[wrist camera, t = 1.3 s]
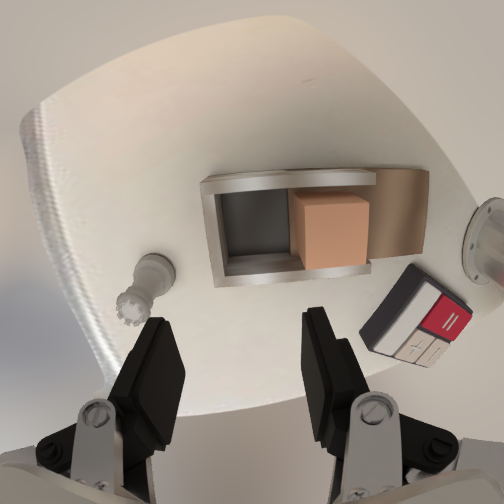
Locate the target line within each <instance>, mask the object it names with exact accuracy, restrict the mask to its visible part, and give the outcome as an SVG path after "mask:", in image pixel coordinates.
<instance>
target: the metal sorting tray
mask: <svg viewBox="0 0 504 504" xmlns="http://www.w3.org/2000/svg"><path fill="white" fill-rule="evenodd" d="M200 191H201V199H202V207H203V214H204V221H205V228H206V235H207V242H208V249H209V255H210V261H211V268H212V274H213V280H214V286H215V288H218V287H232V286H246V285H259V284H271V283H283V282H294V281H304V280H315V279H325V278H334V277H344V276H353V275H361V274H370V273H371V264H372V263H371V262H370V261H369V260H368V259H375V258H385V257H394V256H404V255H413V254H422V252H423V245H424V237H425V229H426V219H427V208H428V193H429V171H425V170H421V169H400V168H310V169H288V170H272V171H258V172H246V173H236V174H226V175H216V176H208V177H207V178H205V179H204V180H203V181H202V182H200ZM331 191H348V192H350V193H352V194H354V195H356V196H358V197H360V198H362V199H364V200H365V201H367V202H369V226H368V243H367V256H366V264H363V265H353V266H343V267H333V268H323V269H312V270H306V269H305V267H304V265H303V262H302V260H301V257H300V255H299V253H298V250H297V248H296V235H295V210H294V193H309V192H331Z"/></svg>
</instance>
